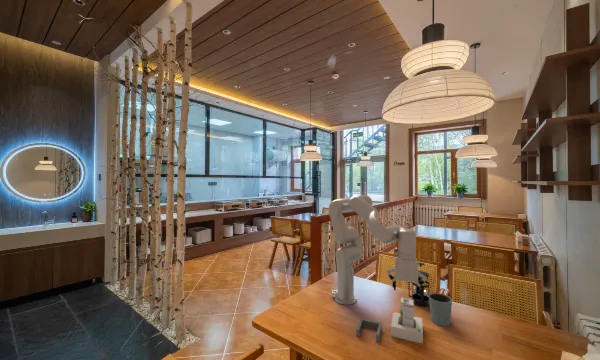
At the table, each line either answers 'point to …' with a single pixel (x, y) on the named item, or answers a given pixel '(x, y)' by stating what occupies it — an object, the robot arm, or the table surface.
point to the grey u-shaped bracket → (371, 325)
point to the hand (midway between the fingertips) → (405, 291)
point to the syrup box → (407, 312)
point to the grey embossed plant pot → (440, 308)
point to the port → (407, 329)
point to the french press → (423, 293)
